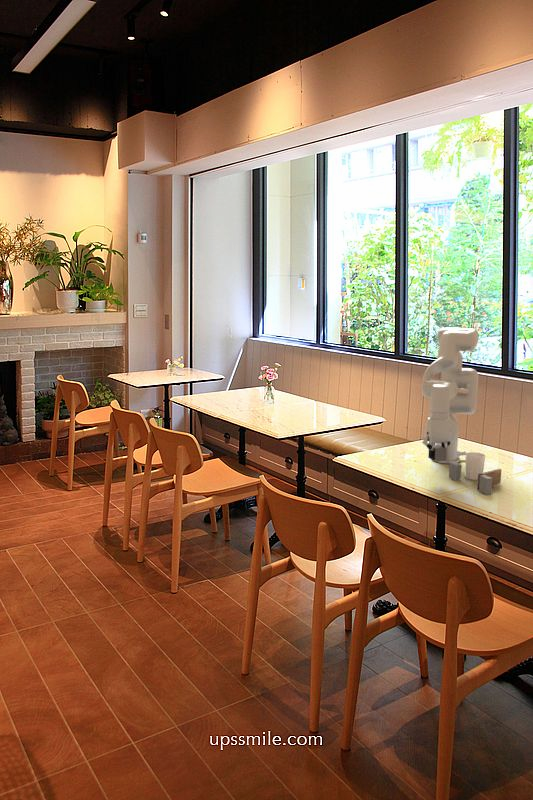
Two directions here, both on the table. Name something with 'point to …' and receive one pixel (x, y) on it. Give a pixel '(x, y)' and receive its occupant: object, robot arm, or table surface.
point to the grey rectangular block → (440, 453)
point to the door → (493, 474)
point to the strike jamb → (455, 471)
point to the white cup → (474, 465)
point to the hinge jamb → (485, 485)
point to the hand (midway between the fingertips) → (437, 457)
